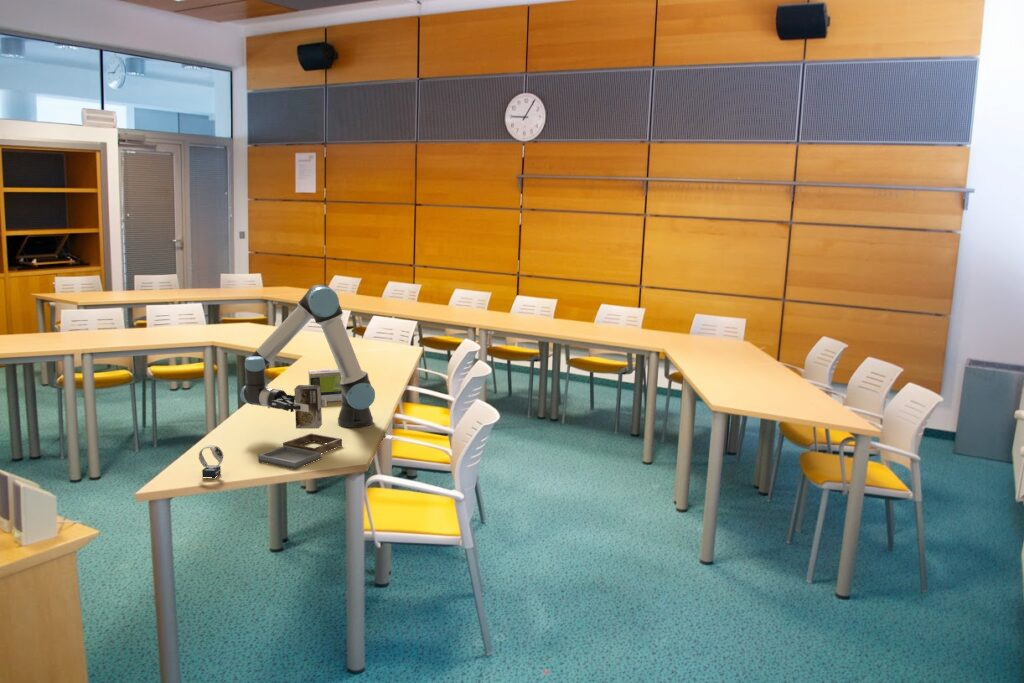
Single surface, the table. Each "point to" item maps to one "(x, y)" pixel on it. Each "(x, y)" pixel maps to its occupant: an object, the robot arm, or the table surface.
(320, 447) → the collar
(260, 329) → the table surface
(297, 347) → the table surface
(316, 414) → the coffee box
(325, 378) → the tea box
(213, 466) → the watch
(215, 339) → the table surface
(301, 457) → the tray
